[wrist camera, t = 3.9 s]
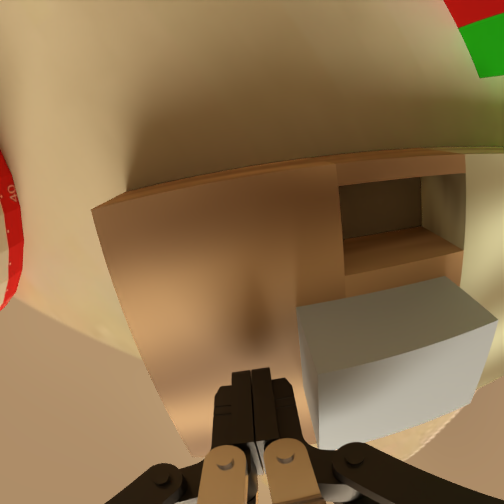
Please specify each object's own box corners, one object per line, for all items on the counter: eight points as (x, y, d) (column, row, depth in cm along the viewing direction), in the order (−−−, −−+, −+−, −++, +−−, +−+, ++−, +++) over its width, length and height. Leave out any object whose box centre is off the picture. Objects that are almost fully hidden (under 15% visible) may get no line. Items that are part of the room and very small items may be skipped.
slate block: (295, 307, 12) (317, 374, 8) (444, 275, 12) (498, 319, 8) (303, 386, 14) (319, 453, 10) (432, 353, 14) (470, 403, 10)
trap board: (125, 191, 14) (65, 224, 9) (510, 146, 14) (579, 160, 8) (197, 411, 19) (189, 483, 14) (488, 341, 19) (529, 384, 13)
